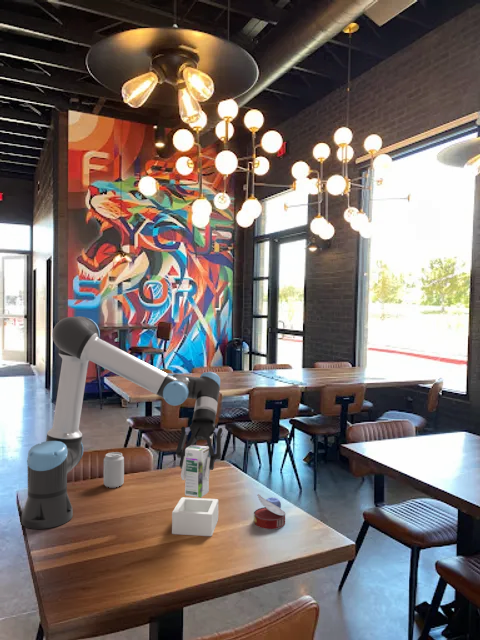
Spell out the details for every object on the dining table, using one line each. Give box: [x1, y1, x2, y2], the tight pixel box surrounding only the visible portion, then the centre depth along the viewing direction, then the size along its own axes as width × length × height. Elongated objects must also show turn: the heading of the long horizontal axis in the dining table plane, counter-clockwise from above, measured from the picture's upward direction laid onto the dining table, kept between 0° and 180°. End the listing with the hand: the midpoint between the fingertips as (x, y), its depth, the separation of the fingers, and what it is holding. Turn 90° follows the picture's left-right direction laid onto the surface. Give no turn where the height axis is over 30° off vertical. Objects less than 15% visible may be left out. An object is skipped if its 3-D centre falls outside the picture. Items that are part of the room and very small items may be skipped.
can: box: [103, 451, 125, 489], centre depth 187 cm, size 8×8×12 cm
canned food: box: [253, 493, 286, 530], centre depth 155 cm, size 11×10×10 cm
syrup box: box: [184, 444, 210, 498], centre depth 151 cm, size 6×6×14 cm
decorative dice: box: [266, 497, 282, 509], centre depth 164 cm, size 4×4×4 cm
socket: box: [171, 496, 219, 537], centre depth 151 cm, size 12×12×6 cm
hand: (194, 478), depth 148 cm, fingers closed on syrup box, 7 cm apart
